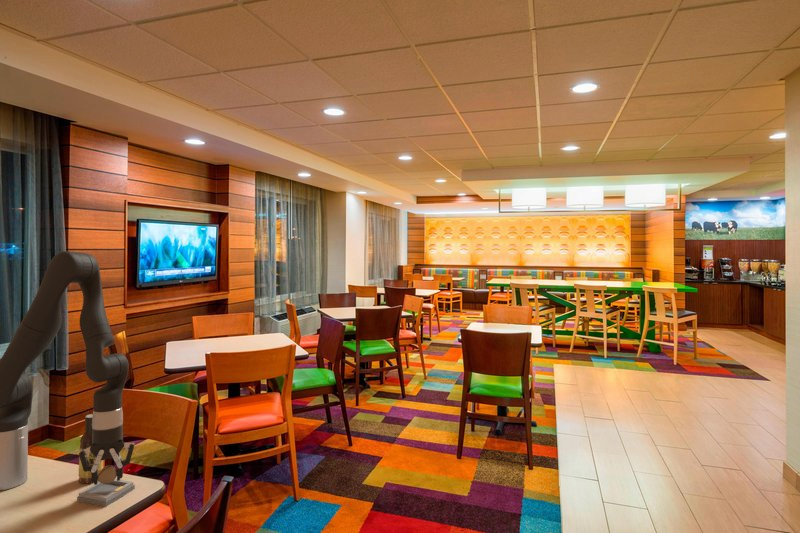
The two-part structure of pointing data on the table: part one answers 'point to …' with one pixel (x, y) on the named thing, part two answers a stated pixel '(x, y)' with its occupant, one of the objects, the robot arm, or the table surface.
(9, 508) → the table surface
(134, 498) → the table surface
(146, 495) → the table surface
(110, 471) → the door knob
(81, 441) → the sauce bottle
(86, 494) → the grey square tray
